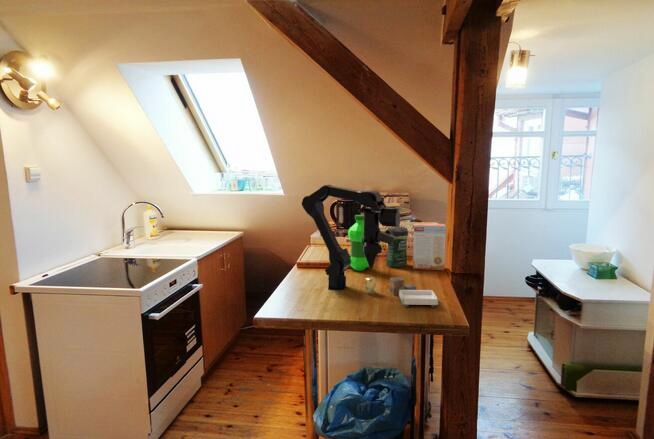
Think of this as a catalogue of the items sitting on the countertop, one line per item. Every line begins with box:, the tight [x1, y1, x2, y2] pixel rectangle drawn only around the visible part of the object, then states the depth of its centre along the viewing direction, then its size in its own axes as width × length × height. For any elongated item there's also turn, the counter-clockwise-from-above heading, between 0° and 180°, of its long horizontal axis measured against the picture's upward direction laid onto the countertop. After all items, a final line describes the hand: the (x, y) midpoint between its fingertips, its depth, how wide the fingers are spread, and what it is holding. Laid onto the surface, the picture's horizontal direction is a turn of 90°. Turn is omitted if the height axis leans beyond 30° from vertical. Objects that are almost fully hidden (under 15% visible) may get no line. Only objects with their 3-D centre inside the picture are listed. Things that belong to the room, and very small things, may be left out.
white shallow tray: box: [398, 289, 439, 309], centre depth 138 cm, size 12×9×3 cm
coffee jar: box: [385, 226, 409, 269], centre depth 184 cm, size 10×8×19 cm
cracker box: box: [412, 222, 447, 271], centre depth 179 cm, size 14×6×21 cm, turn 77°
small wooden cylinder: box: [364, 276, 377, 296], centre depth 148 cm, size 4×4×6 cm
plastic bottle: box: [347, 214, 369, 272], centre depth 178 cm, size 10×10×25 cm
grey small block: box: [404, 284, 417, 290], centre depth 148 cm, size 4×4×3 cm
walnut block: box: [389, 276, 405, 296], centre depth 148 cm, size 4×4×6 cm
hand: (370, 265), depth 147 cm, fingers open, 6 cm apart
